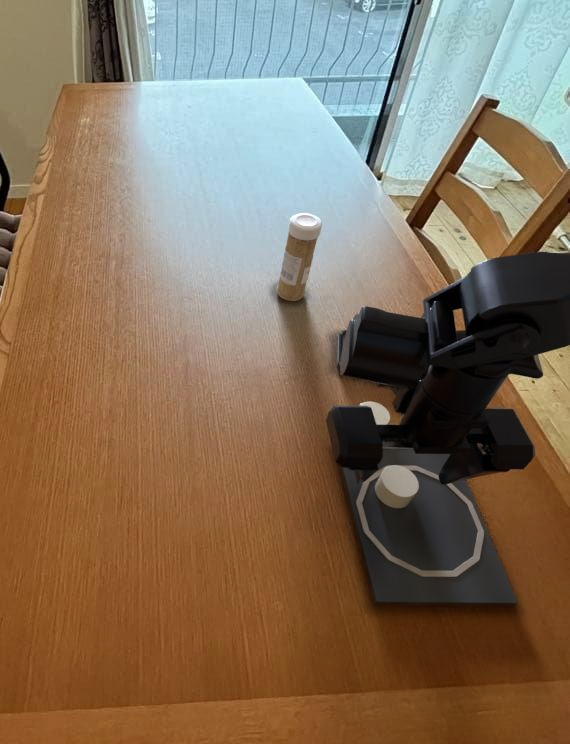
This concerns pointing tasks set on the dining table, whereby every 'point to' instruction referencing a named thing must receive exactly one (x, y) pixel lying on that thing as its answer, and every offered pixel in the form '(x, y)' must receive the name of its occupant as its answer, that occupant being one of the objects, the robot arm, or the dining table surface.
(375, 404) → the cream round box
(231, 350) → the dining table surface
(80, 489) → the dining table surface
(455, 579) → the slate
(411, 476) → the white round puck
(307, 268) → the sprinkles bottle
